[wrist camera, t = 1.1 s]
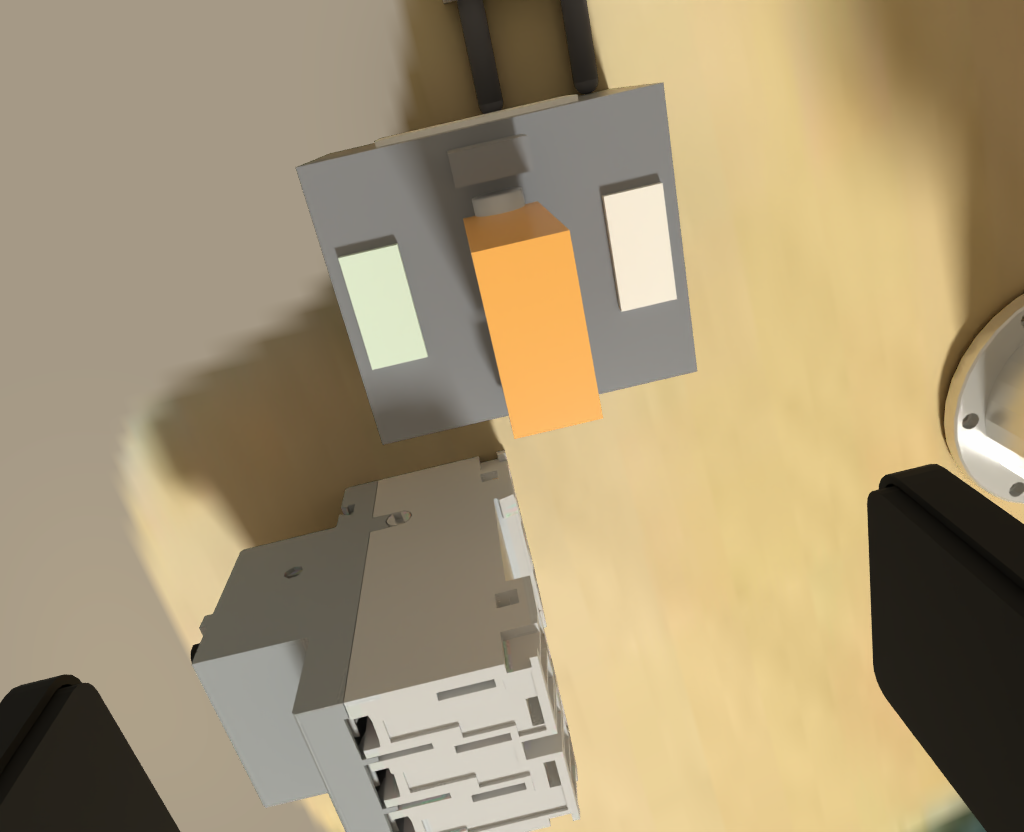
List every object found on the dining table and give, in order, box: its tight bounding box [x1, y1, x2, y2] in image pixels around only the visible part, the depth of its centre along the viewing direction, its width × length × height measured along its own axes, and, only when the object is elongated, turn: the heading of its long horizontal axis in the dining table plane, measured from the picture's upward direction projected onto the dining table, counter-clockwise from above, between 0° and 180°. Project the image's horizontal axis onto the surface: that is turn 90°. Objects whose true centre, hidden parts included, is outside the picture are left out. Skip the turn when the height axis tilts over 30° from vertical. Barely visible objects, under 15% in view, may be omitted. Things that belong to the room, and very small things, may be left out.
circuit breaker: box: [191, 450, 580, 832], centre depth 31 cm, size 8×14×15 cm, turn 103°
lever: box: [463, 187, 603, 439], centre depth 22 cm, size 2×6×7 cm, turn 12°
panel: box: [296, 83, 697, 445], centre depth 28 cm, size 12×10×10 cm
